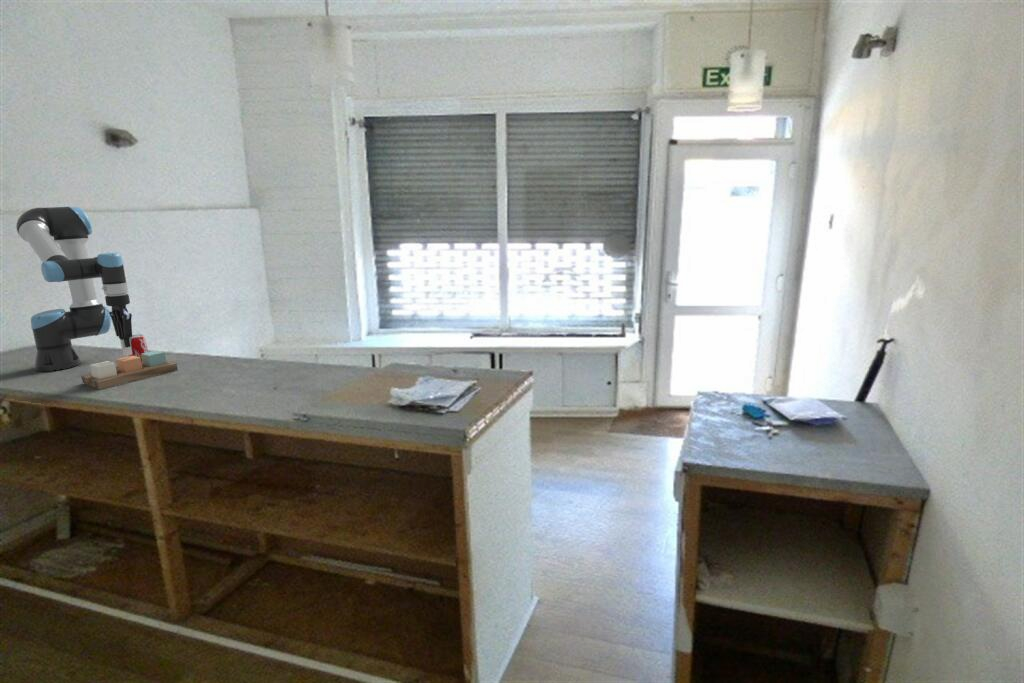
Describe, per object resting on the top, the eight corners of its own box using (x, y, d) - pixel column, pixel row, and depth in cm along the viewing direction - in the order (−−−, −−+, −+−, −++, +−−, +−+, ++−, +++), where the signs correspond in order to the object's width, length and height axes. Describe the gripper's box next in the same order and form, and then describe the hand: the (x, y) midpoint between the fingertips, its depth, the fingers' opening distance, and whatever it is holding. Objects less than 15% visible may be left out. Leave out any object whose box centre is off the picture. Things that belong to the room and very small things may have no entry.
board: (83, 383, 221) (81, 376, 220) (160, 365, 243) (158, 358, 243) (99, 389, 213) (98, 381, 213) (177, 370, 236) (176, 363, 235)
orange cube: (118, 372, 227) (116, 359, 226) (135, 368, 232) (133, 355, 231) (126, 375, 224) (123, 361, 223) (142, 371, 229) (140, 357, 227)
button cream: (92, 378, 220) (89, 364, 219) (110, 374, 225) (107, 360, 223) (99, 381, 217) (96, 367, 215) (117, 377, 221) (114, 363, 220)
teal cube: (143, 367, 234) (141, 353, 233) (159, 363, 239) (156, 350, 238) (151, 369, 231) (148, 355, 230) (166, 365, 236) (164, 352, 235)
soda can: (143, 366, 243) (138, 337, 240) (126, 366, 243) (121, 338, 240) (153, 361, 250) (148, 333, 247) (137, 361, 250) (132, 334, 247)
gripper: (97, 294, 221) (109, 355, 227) (113, 297, 214) (125, 359, 220) (119, 291, 227) (130, 350, 233) (135, 294, 220) (146, 354, 226)
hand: (127, 354), depth 226 cm, fingers closed
